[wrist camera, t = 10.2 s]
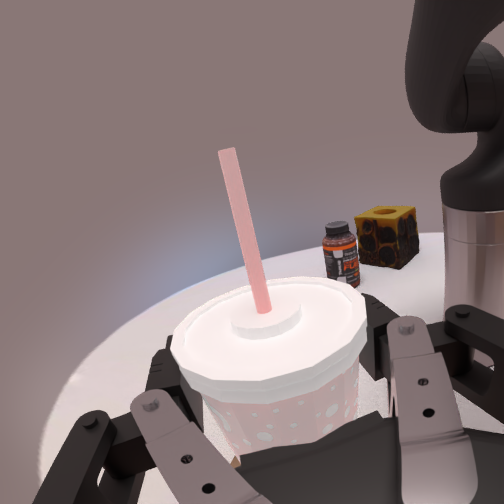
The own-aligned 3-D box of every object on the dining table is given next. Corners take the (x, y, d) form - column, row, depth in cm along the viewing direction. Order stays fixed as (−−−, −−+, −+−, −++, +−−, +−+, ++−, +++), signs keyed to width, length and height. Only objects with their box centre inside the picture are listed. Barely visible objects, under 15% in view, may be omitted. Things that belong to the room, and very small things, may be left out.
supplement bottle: (350, 293, 51) (341, 229, 48) (322, 289, 55) (312, 228, 52) (366, 279, 55) (359, 219, 51) (339, 275, 59) (331, 219, 56)
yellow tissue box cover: (400, 270, 54) (395, 219, 51) (358, 264, 62) (351, 217, 60) (421, 252, 60) (417, 205, 57) (382, 247, 68) (377, 205, 65)
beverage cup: (246, 435, 15) (162, 172, 12) (357, 419, 14) (321, 135, 11) (233, 528, 9) (65, 190, 6) (378, 512, 8) (368, 109, 5)
